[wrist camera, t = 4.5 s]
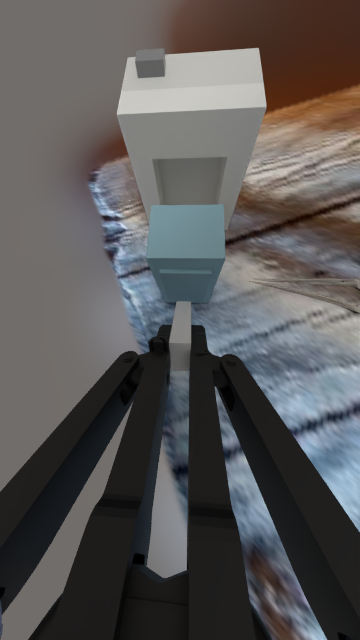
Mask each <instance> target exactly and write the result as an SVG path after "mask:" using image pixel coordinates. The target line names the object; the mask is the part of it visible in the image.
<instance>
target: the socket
mask: <svg viewBox="0 0 360 640" xmlns="http://www.w3.org/2000/svg"><path fill="white" fill-rule="evenodd" d="M265 110H266V99H265V92H264V84H263V77H262V70H261V62H260V54H259V48H253V49H239V50H226V51H212V52H198V53H185V54H170V55H165V49H164V48H162V49H149V50H137V53H136V57H130V58H128V61H127V65H126V71H125V75H124V80H123V86H122V91H121V96H120V101H119V106H118V111H117V117H118V120H119V124H120V127H121V131H122V134H123V137H124V141H125V144H126V148H127V151H128V154H129V158H130V161H131V165H132V168H133V171H134V175H135V178H136V181H137V185H138V188H139V192H140V195H141V198H142V202H143V205H144V209H145V212H146V215H147V219H148V222H149V223H150V213H151V206H153V205H217V204H224V229H225V230H228V227H229V223H230V220H231V217H232V214H233V211H234V208H235V205H236V201H237V198H238V195H239V192H240V189H241V186H242V183H243V179H244V176H245V173H246V170H247V167H248V164H249V160H250V157H251V154H252V151H253V148H254V145H255V142H256V138H257V135H258V132H259V129H260V126H261V123H262V120H263V116H264V113H265Z"/></svg>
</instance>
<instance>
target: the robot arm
mask: <svg viewBox="0 0 360 640" xmlns="http://www.w3.org/2000/svg"><path fill="white" fill-rule="evenodd" d="M148 343H149V349H150V352H148V353H145V354H141V355H138V354H137V353H136V352H134V351H128V352H125V353H123V354H121V355H120V356H119V358H117V360H116V361H115V362H114V363H113V364H112V365H111V366H110V368H109V369H108V370H107V371H106V372H105V374H104V375H103V376H102V377H101V378H100V379H99V380H98V381H97V382H96V384H95V385H94V386H93V387H92V388H91V389H90V391H88V393H87V394H86V395H85V396H84V397H83V398H82V400H81V401H80V402H79V403H78V404H77V405H76V406H75V407H74V409H73V410H72V411H71V412H70V413H69V414H68V415H67V417H66V418H65V419H64V420H63V421H62V422H61V423H60V425H59V426H58V427H57V428H56V429H55V430H54V431H53V433H52V434H51V435H50V436H49V437H48V438H47V439H46V441H45V442H44V443H43V444H42V445H41V446H40V447H39V448H38V450H37V451H36V452H35V453H34V454H33V455H32V456H31V458H30V459H29V460H28V461H27V462H26V463H25V464H24V466H23V467H22V468H21V469H20V470H19V471H18V472H17V473H16V475H15V476H14V477H13V478H12V479H11V480H10V481H9V483H8V484H7V485H6V486H5V487H4V488H3V490H2V491H1V492H0V638H1V635H2V628H3V624H2V614H3V613H4V612H5V610H6V609H7V608H8V606H9V605H10V604H11V602H12V601H13V600H14V598H15V597H16V596H17V594H18V593H19V592H20V590H21V589H22V587H23V586H24V585H25V583H26V582H27V580H28V579H29V577H30V576H31V574H32V573H33V571H34V570H35V568H36V567H37V565H38V564H39V562H40V560H41V559H42V557H43V555H44V554H45V552H46V551H47V549H48V547H49V546H50V544H51V543H52V541H53V539H54V537H55V536H56V533H57V532H58V530H59V529H60V527H61V525H62V523H63V522H64V520H65V518H66V517H67V515H68V513H69V511H70V510H71V508H72V506H73V504H74V503H75V501H76V499H77V497H78V496H79V494H80V492H81V490H82V489H83V487H84V485H85V483H86V482H87V480H88V478H89V477H90V475H91V473H92V471H93V470H94V468H95V466H96V464H97V463H98V461H99V459H100V458H101V456H102V454H103V452H104V451H105V449H106V447H107V445H108V444H109V442H110V440H111V439H112V437H113V435H114V433H115V432H116V430H117V428H118V426H119V425H120V423H121V421H122V420H123V418H124V416H125V414H126V413H127V411H128V409H129V407H130V406H131V404H132V402H133V404H132V408H131V411H130V414H129V417H128V420H127V423H126V426H125V429H124V432H123V436H122V439H121V442H120V445H119V448H118V451H117V454H116V457H115V460H114V463H113V466H112V470H111V473H110V476H109V479H108V482H107V485H106V488H105V491H104V494H103V495H102V497H101V499H100V500H99V502H98V503H97V504H96V505H95V507H94V509H93V511H92V513H91V515H90V518H89V520H88V523H87V525H86V528H85V531H84V534H83V536H82V540H81V542H80V545H79V548H78V551H77V554H76V557H75V559H74V562H73V565H72V568H71V571H70V574H69V577H68V580H67V583H66V586H65V588H64V591H63V593H62V594H61V596H60V597H59V598H58V599H57V601H56V602H55V603H54V604H53V606H52V607H51V608H50V610H49V611H48V613H47V614H46V616H45V617H44V618H43V620H42V621H41V622H40V624H39V625H38V627H37V628H36V629H35V631H34V632H33V634H32V635H31V636H30V638H29V639H28V640H272V638H271V636H270V634H269V632H268V630H267V628H266V626H265V624H264V623H263V621H262V619H261V618H260V616H259V614H258V613H257V611H256V609H255V608H254V607H253V605H252V604H251V602H250V600H249V594H248V587H247V581H246V574H245V568H244V561H243V555H242V548H241V542H240V536H239V531H238V526H237V522H236V519H235V516H234V513H233V510H232V506H231V500H230V494H229V487H228V480H227V473H226V465H225V458H224V451H223V444H222V437H221V430H220V423H219V416H218V409H217V402H216V395H215V388H214V386H216V387H217V390H218V392H219V395H220V397H221V399H222V402H223V404H224V407H225V409H226V411H227V414H228V416H229V418H230V421H231V423H232V426H233V428H234V430H235V433H236V435H237V437H238V440H239V442H240V445H241V447H242V449H243V452H244V454H245V456H246V459H247V461H248V464H249V466H250V468H251V471H252V473H253V475H254V478H255V480H256V483H257V485H258V487H259V490H260V492H261V494H262V497H263V499H264V502H265V504H266V506H267V509H268V511H269V513H270V516H271V518H272V520H273V523H274V525H275V528H276V530H277V532H278V535H279V537H280V539H281V542H282V544H283V547H284V549H285V551H286V554H287V556H288V558H289V561H290V563H291V566H292V568H293V570H294V573H295V575H296V577H297V579H298V581H299V584H300V586H301V588H302V590H303V592H304V595H305V597H306V599H307V601H308V603H309V605H310V607H311V609H312V611H313V613H314V615H315V617H316V619H317V621H318V623H319V625H320V626H321V628H322V630H323V632H324V634H325V636H326V638H327V640H360V532H359V531H358V529H357V528H356V527H355V525H354V524H353V522H352V521H351V519H350V518H349V516H348V515H347V513H346V512H345V511H344V509H343V508H342V506H341V505H340V503H339V502H338V500H337V499H336V497H335V496H334V495H333V493H332V492H331V490H330V489H329V487H328V486H327V484H326V483H325V482H324V480H323V479H322V477H321V476H320V474H319V473H318V471H317V470H316V468H315V467H314V466H313V464H312V463H311V461H310V460H309V458H308V457H307V455H306V454H305V452H304V451H303V450H302V448H301V447H300V445H299V444H298V442H297V441H296V439H295V438H294V436H293V435H292V434H291V432H290V431H289V429H288V428H287V426H286V425H285V423H284V422H283V421H282V419H281V418H280V416H279V415H278V413H277V412H276V410H275V409H274V407H273V406H272V405H271V403H270V402H269V400H268V399H267V397H266V396H265V394H264V393H263V391H262V390H261V389H260V387H259V386H258V384H257V383H256V381H255V380H254V378H253V377H252V376H251V374H250V373H249V371H248V370H247V368H246V367H245V365H244V364H243V362H242V361H241V360H240V359H239V358H238V357H237V356H235V355H232V354H226V355H223V356H222V357H218V356H215V355H213V354H211V353H210V352H209V350H208V348H207V341H206V333H205V328H204V327H203V326H202V325H191V302H187V301H177V302H176V307H175V313H174V318H173V323H172V325H162V326H161V327H160V328H159V331H158V334H157V336H156V337H153V338H151V339H150V340H149V342H148ZM170 368H171V370H185V371H190V377H189V457H188V527H187V570H186V571H184V572H181V573H179V574H176V575H174V576H171V577H168V578H162V577H161V576H159V575H158V574H156V573H155V572H153V571H152V570H150V569H149V568H148V567H146V566H147V558H148V551H149V543H150V534H151V519H152V518H151V517H152V507H153V500H154V492H155V485H156V477H157V470H158V462H159V455H160V448H161V440H162V433H163V425H164V418H165V410H166V403H167V395H168V388H169V381H170ZM133 400H134V401H133Z"/></svg>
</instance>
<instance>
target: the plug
mask: <svg viewBox="0 0 360 640" xmlns="http://www.w3.org/2000/svg"><path fill="white" fill-rule="evenodd" d="M146 259H147V262H148V264H149V266H150V269H151V271H152V273H153V276H154V278H155V280H156V283H157V285H158V287H159V290H160V292H161V294H162V297H163V299H164V301H165V302H177V301H187V302H191V303H208V302H209V299H210V297H211V294H212V291H213V289H214V286H215V284H216V281H217V279H218V276H219V274H220V271H221V268H222V266H223V263H224V261H225V229H224V204H217V205H153V206H151V213H150V223H149V233H148V243H147V253H146Z"/></svg>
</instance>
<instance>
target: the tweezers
mask: <svg viewBox="0 0 360 640" xmlns="http://www.w3.org/2000/svg"><path fill="white" fill-rule="evenodd" d="M256 280H263V281H269V282H271V281H272V282H273V281H275V282H301V283H309V284H322V285H347V286H353V287H356V288H357V289H359V290H360V279H353V280H347V279H333V278H327V279H256ZM341 281H345V282H341ZM249 282H253V281H249ZM253 283H257V284H262V285H266V286H271V287H275V288H280V289H284V290H288V291H291V292H295V293H299V294H303V295H306V296H310V297H314V298H318V299H321V300H324V301H327V302H330V303H333V304H336V305H339V306H342V307H344V308H347V309H350V310H353V311H355V312H358V313H360V305H357V306H356V305H353V304H350V303H347V302H344V301H341V300H338V299H334V298H330V297H326V296H322V295H318V294H314V293H310V292H306V291H302V290H298V289H293V288H289V287H283V286H278V285H272V284H266V283H260V282H253Z"/></svg>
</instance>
